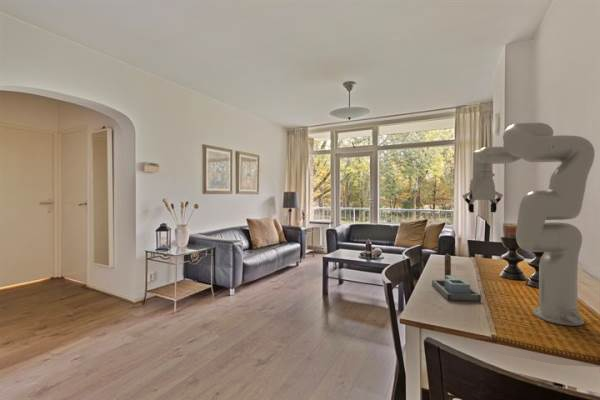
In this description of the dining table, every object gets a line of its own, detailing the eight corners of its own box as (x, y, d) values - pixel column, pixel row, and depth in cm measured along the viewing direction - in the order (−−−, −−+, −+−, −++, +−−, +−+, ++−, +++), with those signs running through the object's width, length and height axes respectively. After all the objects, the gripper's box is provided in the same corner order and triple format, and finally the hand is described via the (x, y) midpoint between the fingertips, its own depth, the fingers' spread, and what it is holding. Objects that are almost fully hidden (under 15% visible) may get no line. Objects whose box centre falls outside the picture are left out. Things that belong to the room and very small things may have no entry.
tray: (480, 301, 111) (480, 295, 111) (447, 300, 113) (447, 294, 113) (460, 286, 130) (460, 280, 130) (432, 285, 132) (432, 279, 132)
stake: (452, 282, 135) (451, 255, 135) (446, 282, 135) (446, 255, 135) (449, 280, 138) (449, 253, 138) (443, 280, 139) (443, 253, 138)
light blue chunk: (456, 286, 127) (456, 275, 127) (469, 297, 114) (469, 284, 114) (439, 286, 128) (439, 275, 128) (451, 296, 115) (451, 284, 115)
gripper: (497, 176, 140) (497, 211, 141) (459, 177, 143) (459, 211, 143) (506, 175, 133) (506, 212, 133) (466, 176, 135) (466, 212, 135)
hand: (482, 212), depth 138 cm, fingers open, 9 cm apart
